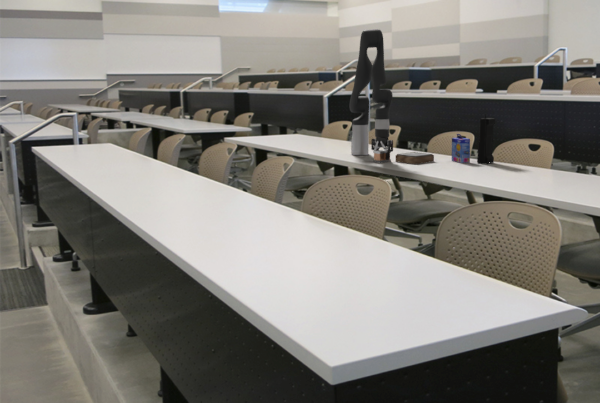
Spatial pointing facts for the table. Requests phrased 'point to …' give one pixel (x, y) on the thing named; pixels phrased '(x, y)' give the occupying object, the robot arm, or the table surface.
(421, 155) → the walnut stand
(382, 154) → the housing
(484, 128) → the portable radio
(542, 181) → the table surface
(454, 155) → the ink cartridge box
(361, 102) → the robot arm
